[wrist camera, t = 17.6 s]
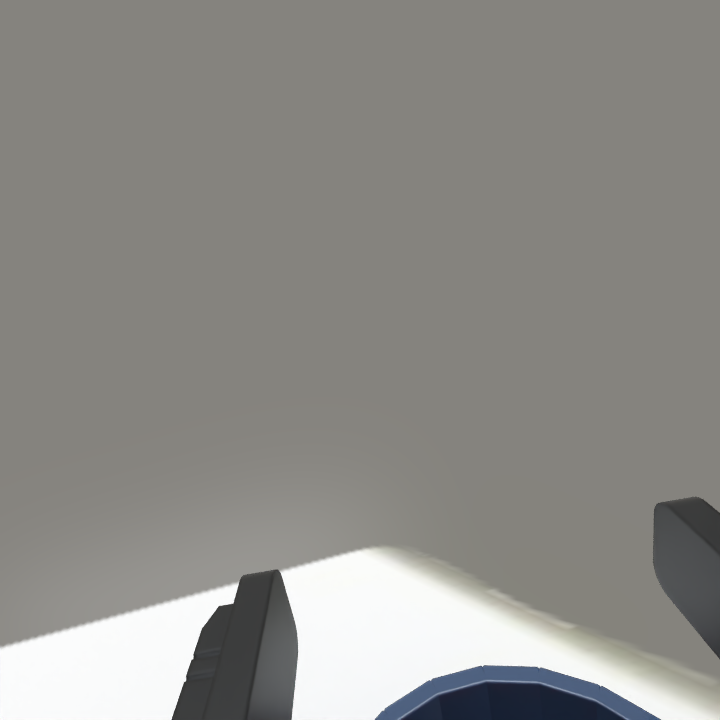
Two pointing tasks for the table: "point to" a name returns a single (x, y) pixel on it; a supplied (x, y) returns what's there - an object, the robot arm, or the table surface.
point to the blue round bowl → (512, 698)
